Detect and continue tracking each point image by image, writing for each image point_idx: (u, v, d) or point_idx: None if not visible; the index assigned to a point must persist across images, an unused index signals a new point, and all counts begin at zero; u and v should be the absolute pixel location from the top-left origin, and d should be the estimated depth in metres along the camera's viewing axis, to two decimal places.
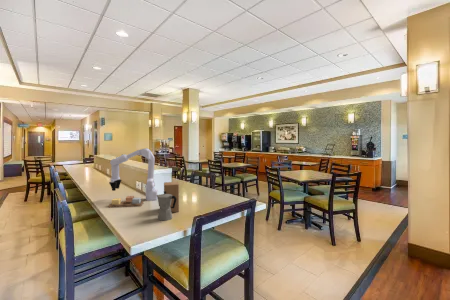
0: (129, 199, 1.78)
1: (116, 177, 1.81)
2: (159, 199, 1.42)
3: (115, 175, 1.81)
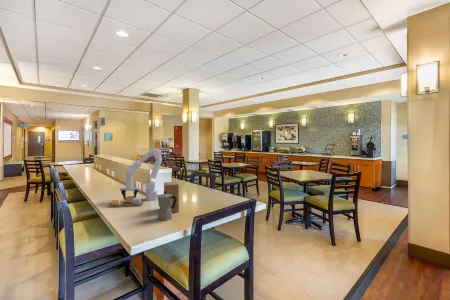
0: (129, 199, 1.78)
1: (126, 187, 1.78)
2: (159, 199, 1.42)
3: None
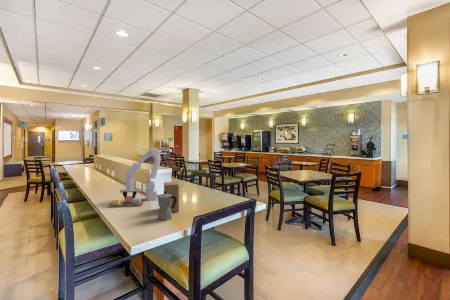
0: (129, 199, 1.78)
1: (126, 188, 1.79)
2: (159, 199, 1.42)
3: (126, 186, 1.79)
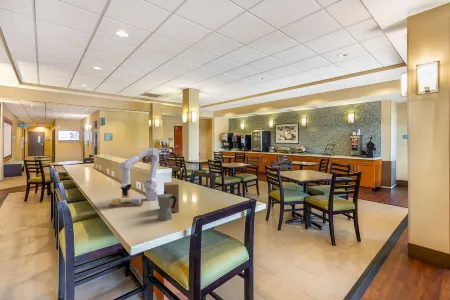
0: (129, 192, 1.72)
1: (127, 181, 1.69)
2: (159, 199, 1.42)
3: (126, 179, 1.68)
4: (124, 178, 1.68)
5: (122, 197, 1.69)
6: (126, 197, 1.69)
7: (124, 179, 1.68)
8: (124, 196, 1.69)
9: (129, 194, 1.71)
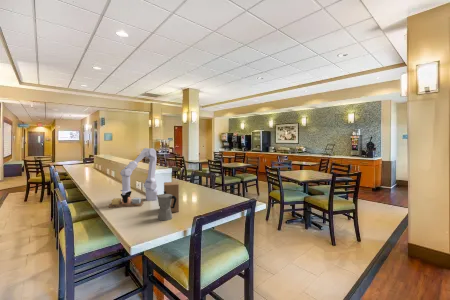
0: (129, 199, 1.72)
1: (127, 189, 1.69)
2: (159, 199, 1.42)
3: (126, 187, 1.69)
4: (124, 185, 1.68)
5: None
6: None
7: (124, 186, 1.68)
8: (124, 203, 1.69)
9: (129, 201, 1.71)
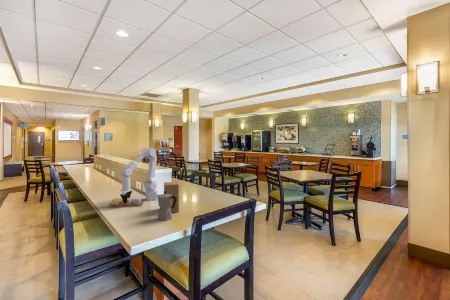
0: (129, 200, 1.72)
1: (127, 189, 1.69)
2: (159, 199, 1.42)
3: (126, 187, 1.69)
4: (124, 185, 1.68)
5: None
6: None
7: (124, 186, 1.68)
8: None
9: (129, 202, 1.72)
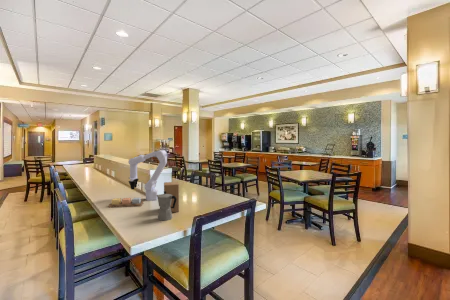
0: (129, 200, 1.72)
1: (135, 176, 1.87)
2: (159, 199, 1.42)
3: (134, 174, 1.86)
4: (132, 173, 1.86)
5: None
6: None
7: (132, 174, 1.86)
8: None
9: (129, 202, 1.72)
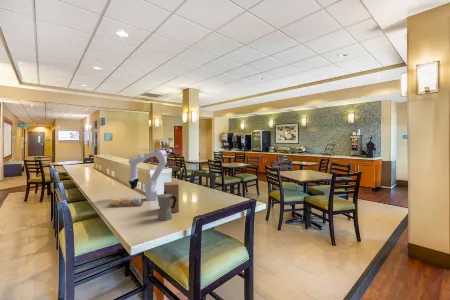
0: (129, 200, 1.72)
1: (135, 176, 1.88)
2: (159, 199, 1.42)
3: (134, 174, 1.87)
4: (132, 173, 1.87)
5: None
6: None
7: (132, 174, 1.87)
8: None
9: (129, 202, 1.72)
